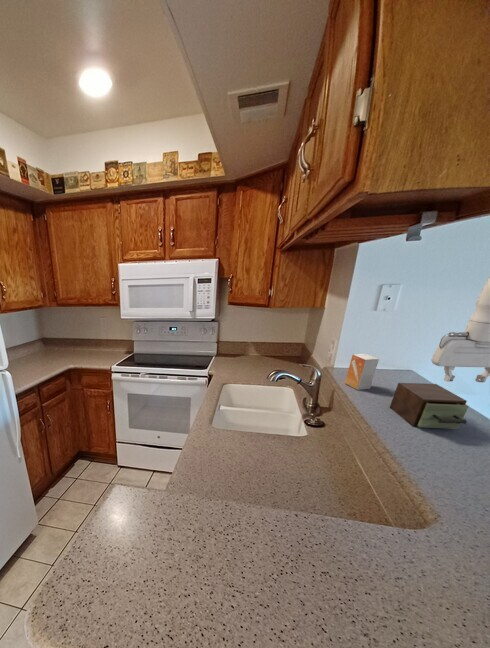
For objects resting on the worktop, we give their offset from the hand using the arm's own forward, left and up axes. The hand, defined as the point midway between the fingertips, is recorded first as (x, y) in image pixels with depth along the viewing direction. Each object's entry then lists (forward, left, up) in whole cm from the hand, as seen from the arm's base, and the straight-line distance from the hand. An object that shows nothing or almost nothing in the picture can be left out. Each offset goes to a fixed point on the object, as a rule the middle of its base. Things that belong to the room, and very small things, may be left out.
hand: (463, 381), depth 95 cm
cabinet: (+4, -11, -17) cm, 21 cm away
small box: (+23, -36, -17) cm, 46 cm away
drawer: (+2, -6, -16) cm, 17 cm away
